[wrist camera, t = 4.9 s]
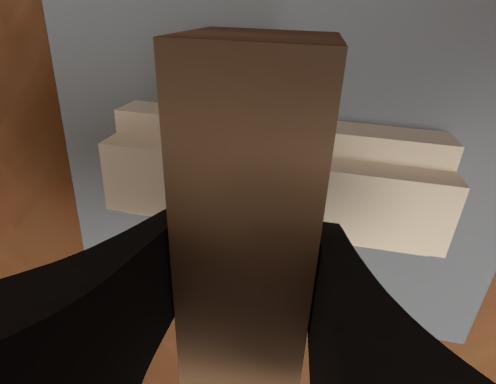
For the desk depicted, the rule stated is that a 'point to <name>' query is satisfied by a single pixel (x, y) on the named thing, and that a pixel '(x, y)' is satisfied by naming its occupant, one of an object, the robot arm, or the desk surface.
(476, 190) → the ridge stand
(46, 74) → the desk surface
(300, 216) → the walnut bar
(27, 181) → the desk surface
